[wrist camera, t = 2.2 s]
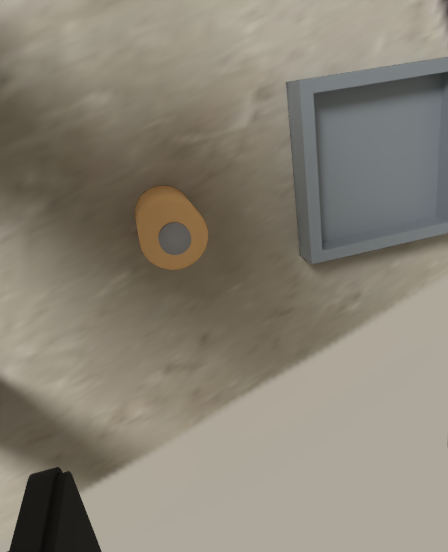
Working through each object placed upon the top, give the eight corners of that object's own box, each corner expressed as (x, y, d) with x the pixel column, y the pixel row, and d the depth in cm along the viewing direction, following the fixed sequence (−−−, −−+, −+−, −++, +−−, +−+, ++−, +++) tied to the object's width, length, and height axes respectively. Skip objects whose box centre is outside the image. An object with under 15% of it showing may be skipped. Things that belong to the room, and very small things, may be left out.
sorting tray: (286, 82, 32) (299, 79, 29) (449, 57, 34) (473, 52, 32) (300, 255, 37) (311, 264, 35) (439, 223, 39) (459, 230, 37)
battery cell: (129, 191, 32) (132, 212, 25) (185, 180, 33) (203, 198, 26) (141, 245, 34) (147, 279, 27) (195, 234, 34) (214, 264, 27)
